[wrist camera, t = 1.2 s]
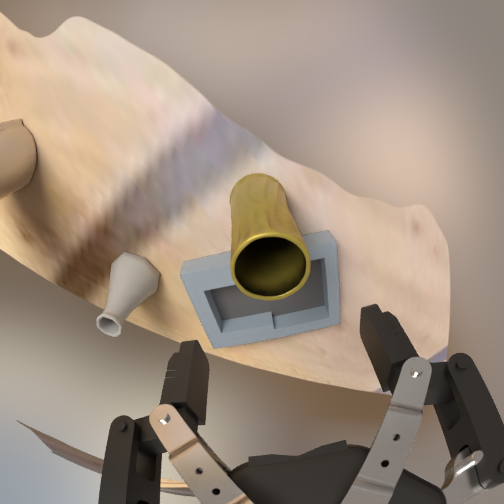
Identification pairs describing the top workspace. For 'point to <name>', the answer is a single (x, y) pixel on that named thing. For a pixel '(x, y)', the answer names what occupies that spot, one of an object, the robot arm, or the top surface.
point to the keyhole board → (262, 311)
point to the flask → (126, 291)
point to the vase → (265, 241)
